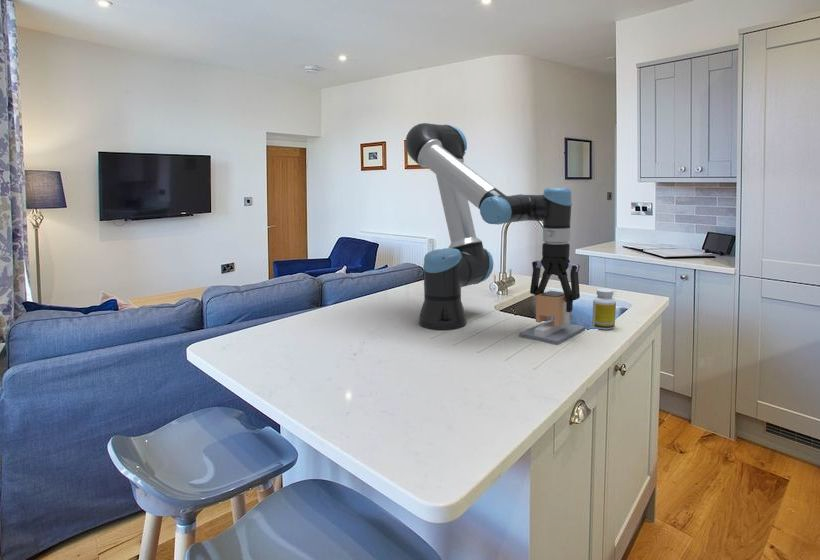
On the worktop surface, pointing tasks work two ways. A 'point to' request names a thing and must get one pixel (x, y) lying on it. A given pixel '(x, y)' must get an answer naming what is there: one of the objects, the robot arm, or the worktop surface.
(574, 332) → the rail board
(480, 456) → the worktop surface
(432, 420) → the worktop surface
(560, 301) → the block
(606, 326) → the pill bottle
